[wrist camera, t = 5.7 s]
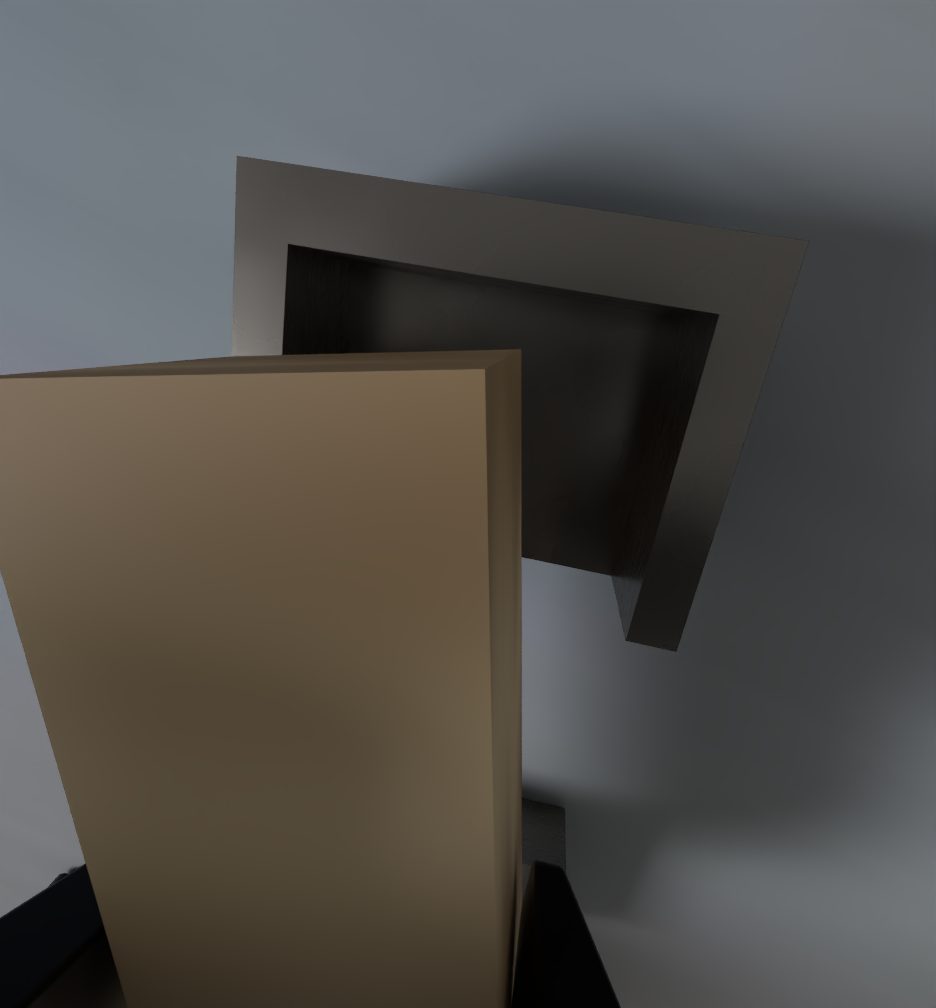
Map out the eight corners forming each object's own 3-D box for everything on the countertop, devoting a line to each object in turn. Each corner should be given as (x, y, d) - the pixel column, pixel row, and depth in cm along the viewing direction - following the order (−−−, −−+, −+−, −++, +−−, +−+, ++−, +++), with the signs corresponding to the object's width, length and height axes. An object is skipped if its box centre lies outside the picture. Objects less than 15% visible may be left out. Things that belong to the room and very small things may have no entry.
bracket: (637, 547, 13) (676, 651, 9) (327, 484, 14) (226, 553, 10) (714, 273, 11) (809, 241, 7) (350, 216, 12) (236, 155, 8)
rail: (521, 1067, 11) (505, 1433, 8) (333, 1036, 12) (230, 1360, 8) (521, 349, 7) (485, 368, 4) (236, 356, 8) (-55, 379, 4)
